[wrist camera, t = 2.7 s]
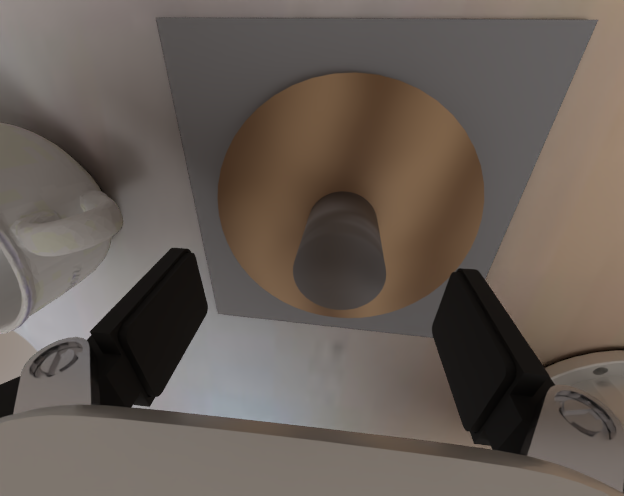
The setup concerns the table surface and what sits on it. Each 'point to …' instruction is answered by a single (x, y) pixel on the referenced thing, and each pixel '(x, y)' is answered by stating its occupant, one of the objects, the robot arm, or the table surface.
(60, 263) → the teacup
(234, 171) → the lid
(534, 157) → the mat
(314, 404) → the table surface
